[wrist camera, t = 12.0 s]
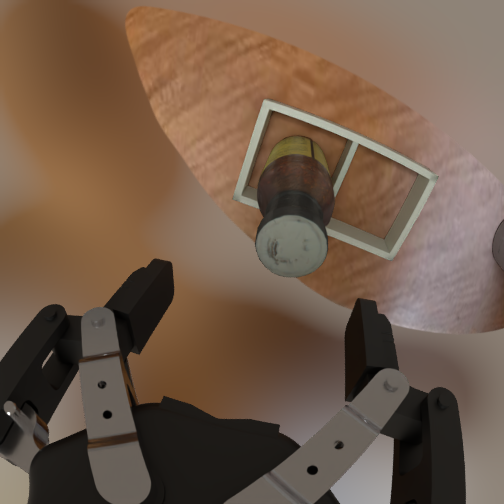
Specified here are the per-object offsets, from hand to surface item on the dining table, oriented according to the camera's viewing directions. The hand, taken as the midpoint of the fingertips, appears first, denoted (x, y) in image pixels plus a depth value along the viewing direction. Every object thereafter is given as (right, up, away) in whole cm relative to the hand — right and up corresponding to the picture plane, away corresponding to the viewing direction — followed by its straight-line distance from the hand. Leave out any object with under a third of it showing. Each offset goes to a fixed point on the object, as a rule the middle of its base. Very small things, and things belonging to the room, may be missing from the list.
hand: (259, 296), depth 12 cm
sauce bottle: (+5, +12, +21) cm, 25 cm away
